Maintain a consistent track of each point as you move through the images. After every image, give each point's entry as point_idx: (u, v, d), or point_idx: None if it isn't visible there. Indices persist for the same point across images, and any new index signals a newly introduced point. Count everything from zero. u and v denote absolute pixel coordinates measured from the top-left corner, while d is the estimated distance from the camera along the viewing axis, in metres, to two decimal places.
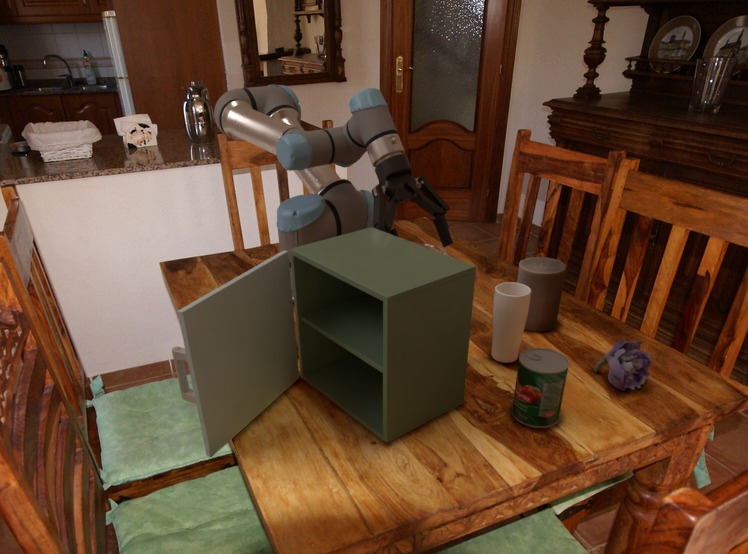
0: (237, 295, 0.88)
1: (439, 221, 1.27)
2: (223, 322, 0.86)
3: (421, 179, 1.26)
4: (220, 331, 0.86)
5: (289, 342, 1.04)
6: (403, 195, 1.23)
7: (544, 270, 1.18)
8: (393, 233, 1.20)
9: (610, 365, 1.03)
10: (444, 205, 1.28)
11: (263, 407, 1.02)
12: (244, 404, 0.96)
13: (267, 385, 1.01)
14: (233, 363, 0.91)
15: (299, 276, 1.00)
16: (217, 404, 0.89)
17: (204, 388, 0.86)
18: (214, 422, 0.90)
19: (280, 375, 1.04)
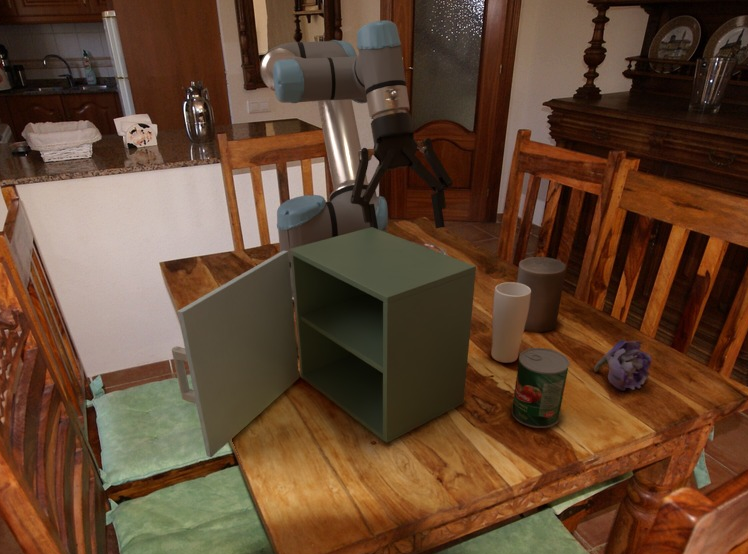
0: (237, 295, 0.88)
1: (435, 198, 1.09)
2: (223, 322, 0.86)
3: (425, 143, 1.07)
4: (220, 331, 0.86)
5: (289, 342, 1.04)
6: (394, 162, 1.06)
7: (544, 270, 1.18)
8: (370, 209, 1.07)
9: (610, 365, 1.03)
10: (446, 179, 1.09)
11: (263, 407, 1.02)
12: (244, 404, 0.96)
13: (267, 385, 1.01)
14: (233, 363, 0.91)
15: (299, 276, 1.00)
16: (217, 404, 0.89)
17: (204, 388, 0.86)
18: (214, 422, 0.90)
19: (280, 375, 1.04)
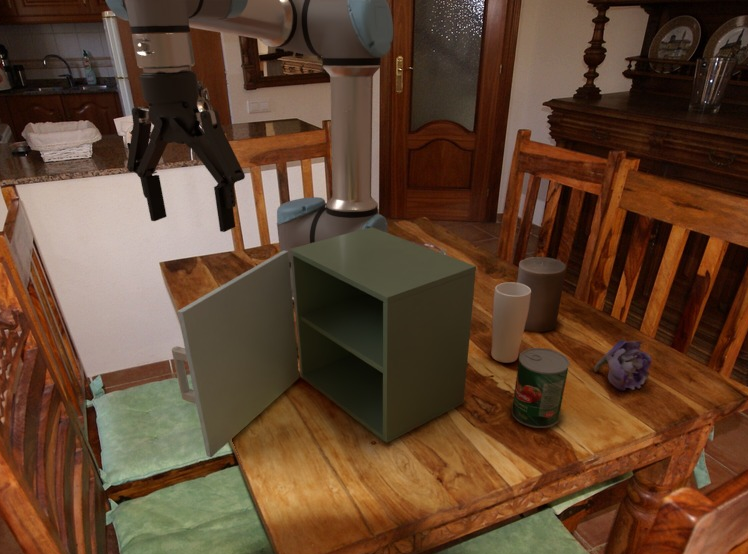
0: (237, 295, 0.88)
1: None
2: (223, 322, 0.86)
3: None
4: (220, 331, 0.86)
5: (289, 342, 1.04)
6: (167, 135, 0.81)
7: (544, 270, 1.18)
8: None
9: (610, 365, 1.03)
10: (227, 173, 0.80)
11: (263, 407, 1.02)
12: (244, 404, 0.96)
13: (267, 385, 1.01)
14: (233, 363, 0.91)
15: (299, 276, 1.00)
16: (217, 404, 0.89)
17: (204, 388, 0.86)
18: (214, 422, 0.90)
19: (280, 375, 1.04)
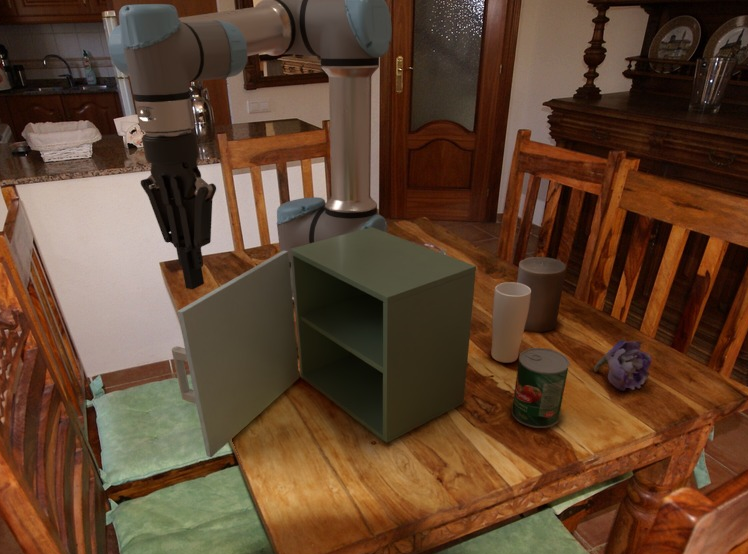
0: (237, 295, 0.88)
1: None
2: (223, 322, 0.86)
3: None
4: (220, 331, 0.86)
5: (289, 342, 1.04)
6: (168, 192, 0.85)
7: (544, 270, 1.18)
8: None
9: (610, 365, 1.03)
10: (196, 238, 0.87)
11: (263, 407, 1.02)
12: (244, 404, 0.96)
13: (267, 385, 1.01)
14: (233, 363, 0.91)
15: (299, 276, 1.00)
16: (217, 404, 0.89)
17: (204, 388, 0.86)
18: (214, 422, 0.90)
19: (280, 375, 1.04)
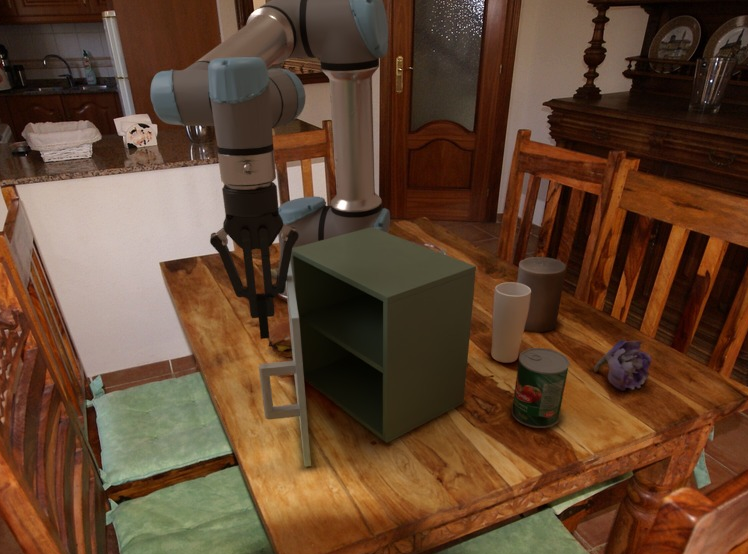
0: None
1: None
2: None
3: (290, 235, 0.83)
4: None
5: None
6: None
7: (544, 270, 1.18)
8: (257, 305, 0.87)
9: (610, 365, 1.03)
10: (280, 284, 0.86)
11: None
12: None
13: None
14: None
15: (299, 276, 1.00)
16: None
17: None
18: None
19: None
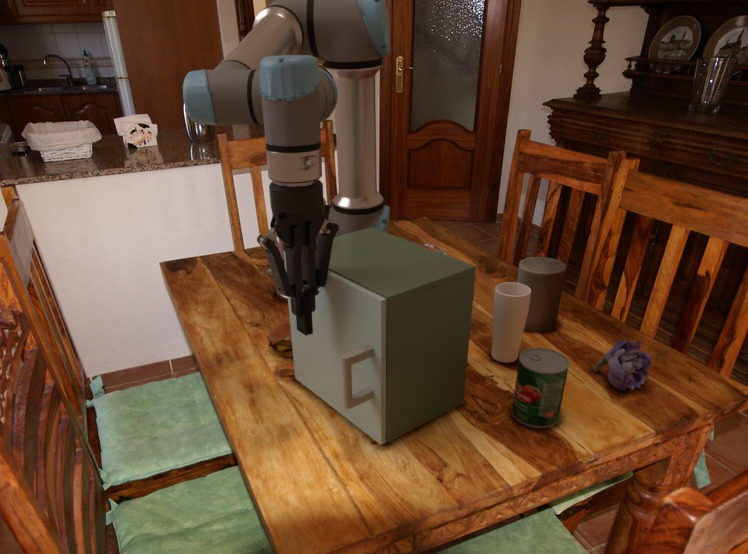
0: None
1: None
2: None
3: (331, 227, 0.86)
4: None
5: None
6: None
7: (544, 270, 1.18)
8: (302, 302, 0.88)
9: (610, 365, 1.03)
10: (322, 278, 0.88)
11: None
12: None
13: None
14: None
15: None
16: None
17: None
18: None
19: None
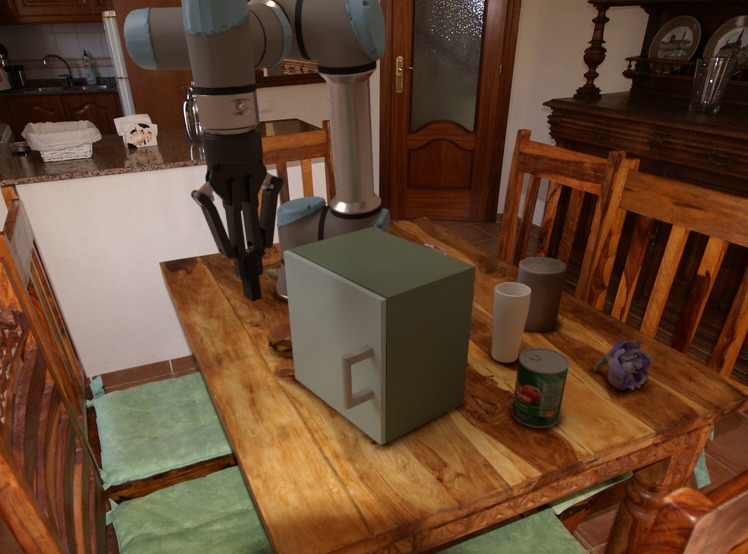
0: None
1: None
2: None
3: (274, 182, 0.79)
4: None
5: None
6: None
7: (544, 270, 1.18)
8: (247, 265, 0.81)
9: (610, 365, 1.03)
10: (269, 237, 0.82)
11: None
12: None
13: None
14: None
15: None
16: None
17: None
18: None
19: None
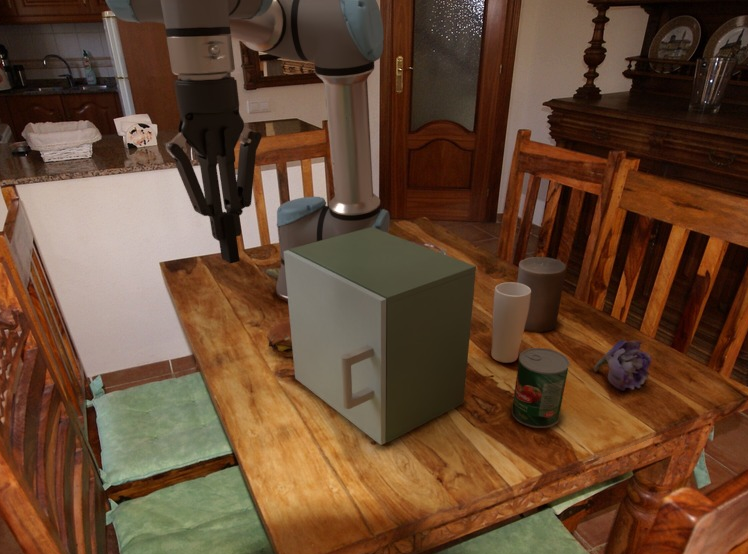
0: None
1: None
2: None
3: (252, 136, 0.76)
4: None
5: None
6: None
7: (544, 270, 1.18)
8: (223, 224, 0.78)
9: (610, 365, 1.03)
10: (246, 196, 0.78)
11: None
12: None
13: None
14: None
15: None
16: None
17: None
18: None
19: None
